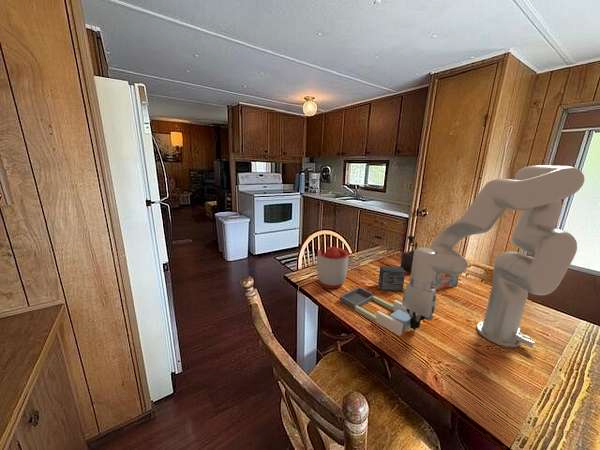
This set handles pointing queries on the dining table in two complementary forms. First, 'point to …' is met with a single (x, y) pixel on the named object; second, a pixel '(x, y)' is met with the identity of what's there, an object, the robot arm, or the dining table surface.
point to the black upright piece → (408, 256)
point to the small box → (391, 278)
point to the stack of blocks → (445, 280)
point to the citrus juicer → (332, 267)
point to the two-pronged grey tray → (363, 296)
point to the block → (402, 318)
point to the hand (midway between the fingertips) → (414, 327)
